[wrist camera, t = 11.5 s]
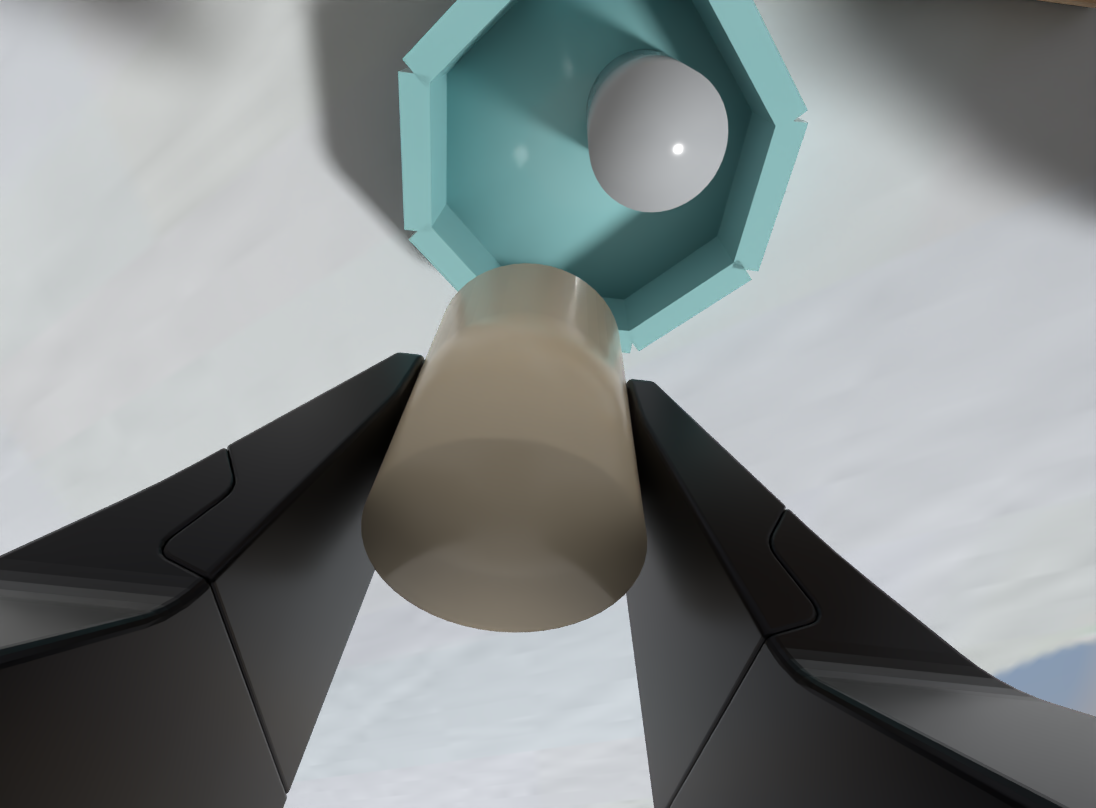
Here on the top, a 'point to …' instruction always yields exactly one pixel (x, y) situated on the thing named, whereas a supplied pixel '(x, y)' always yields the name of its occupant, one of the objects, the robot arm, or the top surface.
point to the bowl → (563, 156)
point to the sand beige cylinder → (513, 462)
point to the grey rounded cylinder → (654, 131)
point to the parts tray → (1075, 2)
